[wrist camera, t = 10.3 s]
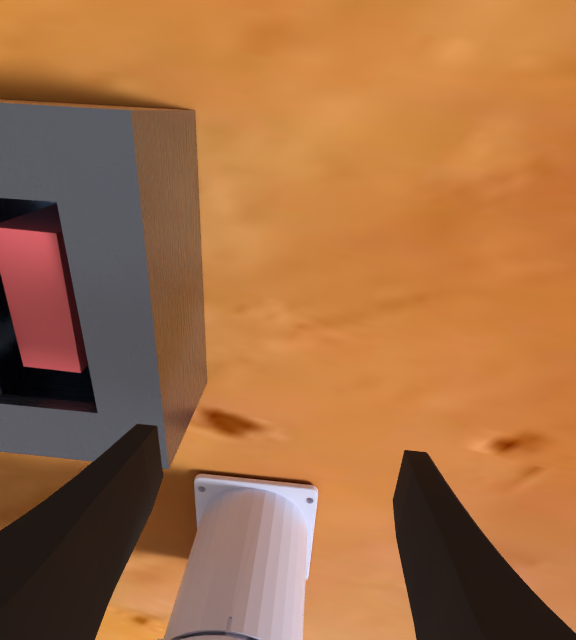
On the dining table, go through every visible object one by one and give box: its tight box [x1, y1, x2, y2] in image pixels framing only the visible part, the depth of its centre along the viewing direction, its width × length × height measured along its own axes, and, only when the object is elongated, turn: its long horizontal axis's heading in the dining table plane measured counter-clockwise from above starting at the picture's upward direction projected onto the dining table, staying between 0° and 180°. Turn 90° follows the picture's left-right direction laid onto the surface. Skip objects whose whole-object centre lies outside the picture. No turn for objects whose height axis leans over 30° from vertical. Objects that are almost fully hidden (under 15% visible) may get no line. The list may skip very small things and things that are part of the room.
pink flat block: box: [0, 203, 88, 373], centre depth 19 cm, size 6×2×5 cm, turn 176°
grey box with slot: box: [0, 99, 207, 469], centre depth 18 cm, size 14×10×6 cm
